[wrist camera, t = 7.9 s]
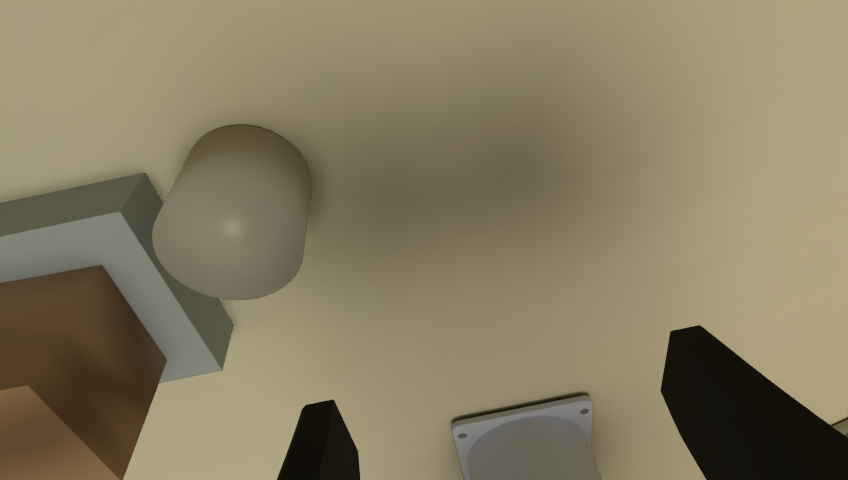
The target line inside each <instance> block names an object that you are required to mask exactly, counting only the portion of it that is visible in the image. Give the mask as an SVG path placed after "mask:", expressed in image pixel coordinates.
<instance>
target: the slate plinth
mask: <svg viewBox="0 0 848 480" xmlns="http://www.w3.org/2000/svg"><path fill="white" fill-rule="evenodd" d="M162 206H163V202H162V201H161V199H160V197H159V195H158V194H157V192H156V190H155V189H154V187H153V185H152V183H151V182H150V180H149V178H148V176H147V175H146V173H142V174H137V175H132V176H128V177H123V178H118V179H113V180H109V181H104V182H99V183H94V184H90V185H85V186H80V187H76V188H71V189H66V190H61V191H57V192H52V193H47V194H42V195H38V196H33V197H28V198H24V199H19V200H14V201H9V202H5V203H0V283H5V282H10V281H16V280H21V279H27V278H32V277H38V276H43V275H49V274H54V273H60V272H65V271H71V270H76V269H82V268H87V267H93V266H98V265H103V267H104V268H105V270H106V271H107V273H108V274H109V276H110V277H111V279H112V280H113V281H114V283H115V284H116V286H117V287H118V289H119V290H120V292H121V293H122V295H123V296H124V298H125V299H126V300H127V302H128V303H129V305H130V306H131V308H132V309H133V311H134V312H135V314H136V315H137V317H138V318H139V320H140V321H141V322H142V324H143V325H144V327H145V328H146V330H147V331H148V333H149V334H150V336H151V337H152V339H153V340H154V341H155V343H156V344H157V346H158V347H159V349H160V350H161V352H162V353H163V355H164V356H165V358H166V359H167V362H166V365H165V368H164V370H163V373H162V376H161V378H160V381H159V383H163V382H168V381H173V380H177V379H182V378H187V377H192V376H197V375H202V374H207V373H212V372H217V371H221V370H222V369H223V365H224V361H225V357H226V354H227V350H228V346H229V342H230V338H231V334H232V330H233V326H234V325H233V323H232V322H231V320H230V318H229V316H228V315H227V313H226V311H225V310H224V308H223V306H222V304H221V303H220V301H219V299H218V298H216V297H211V296H208V295H205V294H202V293H199V292H197V291H194V290H192V289H190V288H189V287H187V286H185V285H183V284H182V283H180V282H179V281H178V280H176V279H175V278H174V277H173V276H171V274H170V273H169V272H168V271H167V270H166V269H165V268H164V267H163V265H162V264H161V263H160V261H159V259H158V257H157V256H156V253H155V250H154V247H153V242H152V231H153V226H154V223H155V220H156V218H157V216H158V214H159V212H160V210H161V208H162Z"/></svg>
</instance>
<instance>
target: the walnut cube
mask: <svg viewBox="0 0 848 480" xmlns="http://www.w3.org/2000/svg"><path fill="white" fill-rule="evenodd" d="M166 362H167V359H166V358H165V356H164V355H163V353H162V352H161V350H160V349H159V347H158V346H157V344H156V343H155V341H154V340H153V339H152V337H151V336H150V334H149V333H148V331H147V330H146V328H145V327H144V325H143V324H142V322H141V321H140V320H139V318H138V317H137V315H136V314H135V312H134V311H133V309H132V308H131V306H130V305H129V303H128V302H127V300H126V299H125V298H124V296H123V295H122V293H121V292H120V290H119V289H118V287H117V286H116V284H115V283H114V281H113V280H112V279H111V277H110V276H109V274H108V273H107V271H106V270H105V268H104V267H103V265H98V266H93V267H87V268H82V269H76V270H71V271H65V272H60V273H54V274H49V275H43V276H38V277H32V278H27V279H21V280H16V281H10V282H5V283H0V480H123V478H124V475H125V473H126V470H127V467H128V465H129V462H130V459H131V457H132V454H133V451H134V448H135V446H136V443H137V440H138V438H139V435H140V432H141V430H142V427H143V424H144V422H145V419H146V416H147V413H148V411H149V408H150V405H151V403H152V400H153V397H154V395H155V392H156V389H157V387H158V384H159V381H160V378H161V376H162V373H163V370H164V368H165V365H166Z"/></svg>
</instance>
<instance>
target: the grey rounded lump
mask: <svg viewBox="0 0 848 480" xmlns="http://www.w3.org/2000/svg"><path fill="white" fill-rule="evenodd" d="M310 191H311V177H310V172H309V169H308V166H307V164H306V162H305V160H304V159H303V157H302V155H301V154H300V153H299V152H298V150H297V149H296V148H295V147H294V146H293V145H292V144H291V143H289V142H288V141H287V140H285V139H284V138H282V137H281V136H279V135H277V134H275V133H273V132H271V131H269V130H266V129H262V128H259V127H254V126H247V125H233V126H226V127H222V128H219V129H216V130H214V131H211V132H209V133H208V134H206V135H205V136H203V137H202V138H201V139H200V140H198V142H197V143H196V144H195V145H194V146H193V148H192V150H191V151H190V153H189V155H188V157H187V159H186V161H185V163H184V165H183V167H182V169H181V171H180V173H179V175H178V177H177V179H176V181H175V183H174V184H173V186H172V188H171V190H170V192H169V194H168V196H167V198H166V200H165V202H164V204H163V206H162V208H161V210H160V212H159V214H158V216H157V218H156V220H155V223H154V226H153V231H152V242H153V247H154V250H155V253H156V256H157V257H158V259H159V261H160V263H161V264H162V265H163V267H164V268H165V269H166V270H167V271H168V272H169V273H170V274H171V276H173V277H174V278H175V279H176V280H178V281H179V282H180V283H182V284H183V285H185V286H187V287H189V288H190V289H192V290H194V291H197V292H199V293H202V294H205V295H208V296H211V297H216V298H220V299H228V300H248V299H255V298H259V297H263V296H266V295H269V294H272V293H274V292H276V291H278V290H280V289H281V288H283V287H284V286H286V285H287V284H288V283H289V282H290V281H291V280H292V279H293V278H294V276H295V275H296V274H297V272H298V270H299V268H300V266H301V263H302V259H303V252H304V243H305V235H306V226H307V217H308V209H309V200H310Z"/></svg>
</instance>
